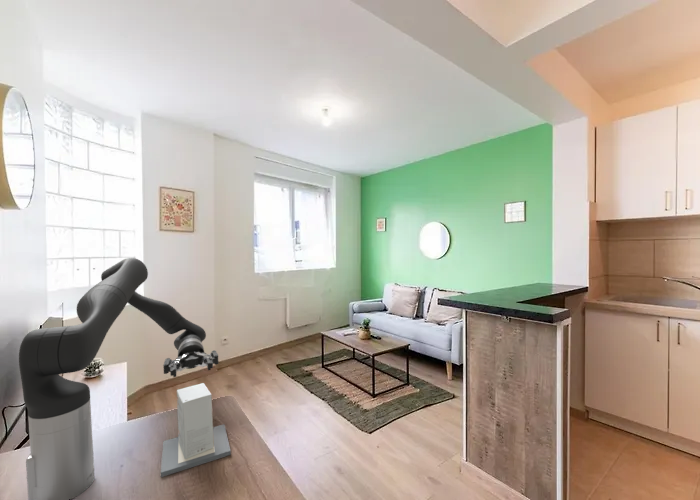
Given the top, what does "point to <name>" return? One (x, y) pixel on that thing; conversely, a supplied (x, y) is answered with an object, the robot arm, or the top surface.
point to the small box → (195, 420)
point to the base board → (177, 462)
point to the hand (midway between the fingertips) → (192, 370)
